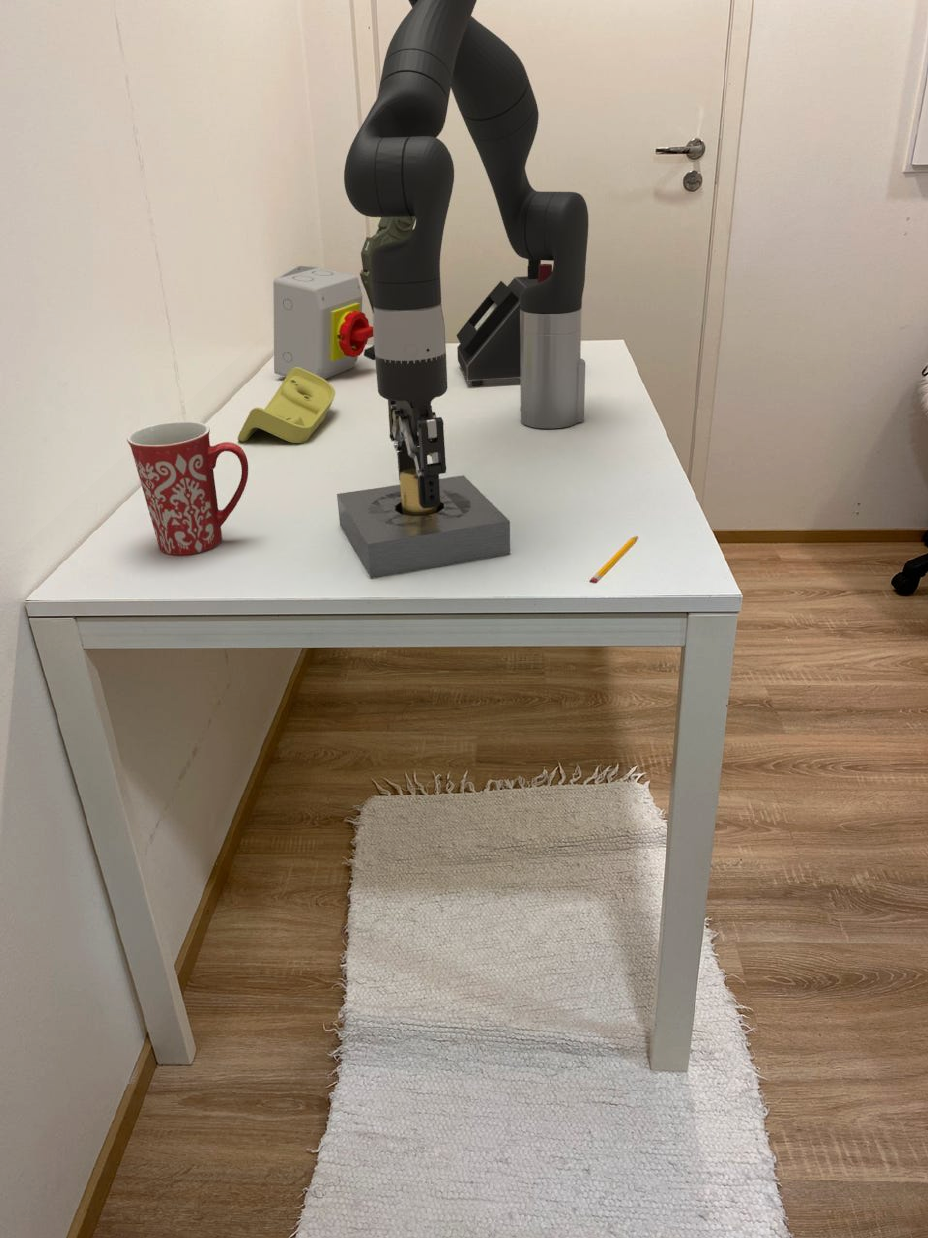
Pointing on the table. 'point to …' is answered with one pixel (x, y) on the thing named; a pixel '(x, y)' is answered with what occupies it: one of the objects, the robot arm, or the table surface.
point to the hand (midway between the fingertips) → (419, 493)
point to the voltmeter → (497, 330)
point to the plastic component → (292, 408)
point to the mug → (183, 484)
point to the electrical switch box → (318, 321)
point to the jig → (422, 528)
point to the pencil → (613, 560)
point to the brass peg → (412, 495)
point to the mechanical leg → (386, 233)
